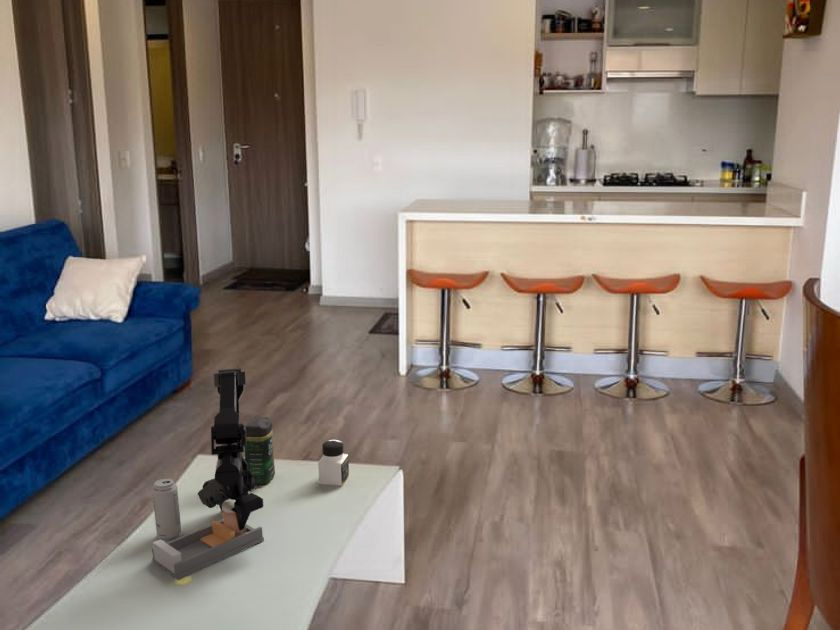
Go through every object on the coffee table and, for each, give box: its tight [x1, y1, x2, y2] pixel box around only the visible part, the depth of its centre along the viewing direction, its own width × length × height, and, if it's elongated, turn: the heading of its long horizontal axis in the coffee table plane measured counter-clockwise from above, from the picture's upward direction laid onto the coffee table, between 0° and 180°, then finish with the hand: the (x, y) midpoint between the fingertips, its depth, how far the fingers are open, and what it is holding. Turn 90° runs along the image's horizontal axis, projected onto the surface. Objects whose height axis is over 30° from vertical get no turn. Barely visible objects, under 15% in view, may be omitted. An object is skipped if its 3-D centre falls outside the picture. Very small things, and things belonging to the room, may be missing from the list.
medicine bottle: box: [317, 439, 350, 487], centre depth 233 cm, size 7×7×12 cm
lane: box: [151, 519, 265, 580], centre depth 196 cm, size 12×24×6 cm, turn 136°
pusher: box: [200, 519, 235, 548], centre depth 198 cm, size 8×5×4 cm, turn 46°
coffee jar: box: [243, 416, 276, 486], centre depth 234 cm, size 10×8×19 cm
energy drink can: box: [152, 477, 182, 542], centre depth 202 cm, size 6×6×15 cm
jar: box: [221, 499, 247, 537], centre depth 201 cm, size 6×6×8 cm
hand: (234, 525), depth 201 cm, fingers closed on jar, 5 cm apart
